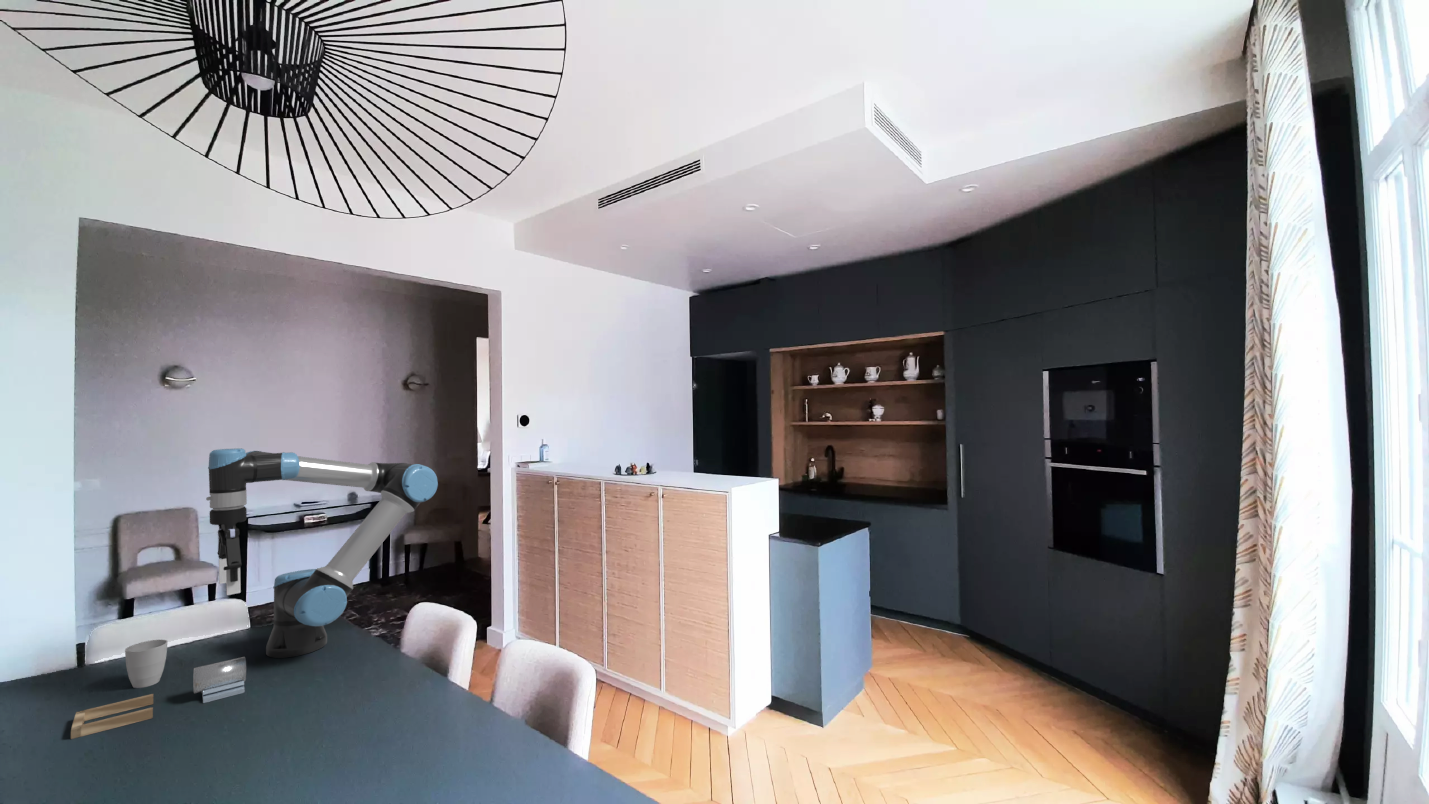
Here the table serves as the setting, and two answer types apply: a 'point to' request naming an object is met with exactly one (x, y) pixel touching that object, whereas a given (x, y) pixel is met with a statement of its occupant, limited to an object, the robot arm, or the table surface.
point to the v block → (223, 691)
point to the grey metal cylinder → (219, 674)
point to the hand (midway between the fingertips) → (229, 588)
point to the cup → (146, 662)
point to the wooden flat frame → (113, 722)
